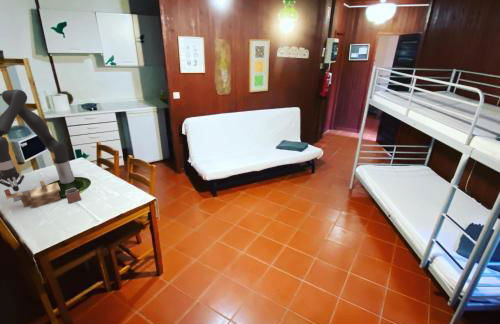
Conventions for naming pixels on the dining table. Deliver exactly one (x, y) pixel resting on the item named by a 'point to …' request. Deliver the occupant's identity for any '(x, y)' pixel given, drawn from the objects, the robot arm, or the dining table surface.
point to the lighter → (72, 195)
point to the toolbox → (39, 199)
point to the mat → (19, 196)
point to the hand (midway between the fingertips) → (16, 190)
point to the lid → (44, 189)
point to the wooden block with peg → (9, 195)
